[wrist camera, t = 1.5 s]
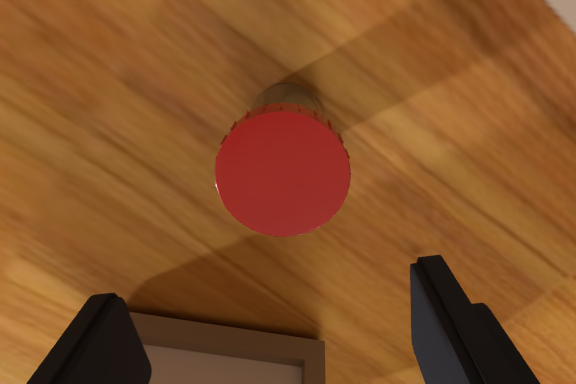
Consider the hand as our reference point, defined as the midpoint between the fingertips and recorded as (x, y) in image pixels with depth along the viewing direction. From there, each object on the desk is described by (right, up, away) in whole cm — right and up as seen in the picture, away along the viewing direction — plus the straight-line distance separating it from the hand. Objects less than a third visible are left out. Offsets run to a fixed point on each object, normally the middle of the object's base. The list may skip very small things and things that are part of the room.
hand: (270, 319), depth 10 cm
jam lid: (0, +4, +9) cm, 10 cm away
